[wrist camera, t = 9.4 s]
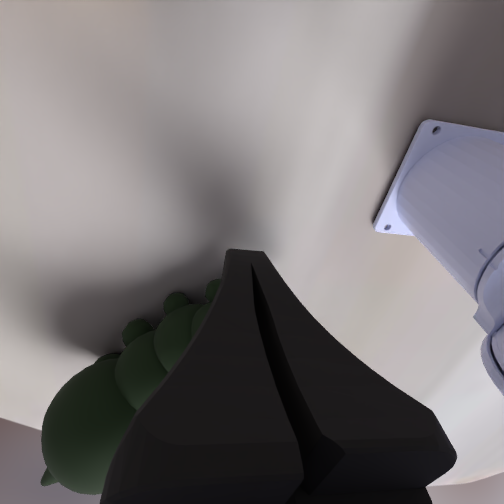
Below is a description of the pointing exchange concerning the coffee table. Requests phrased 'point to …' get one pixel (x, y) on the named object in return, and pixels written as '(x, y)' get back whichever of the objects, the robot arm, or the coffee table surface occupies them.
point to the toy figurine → (113, 396)
